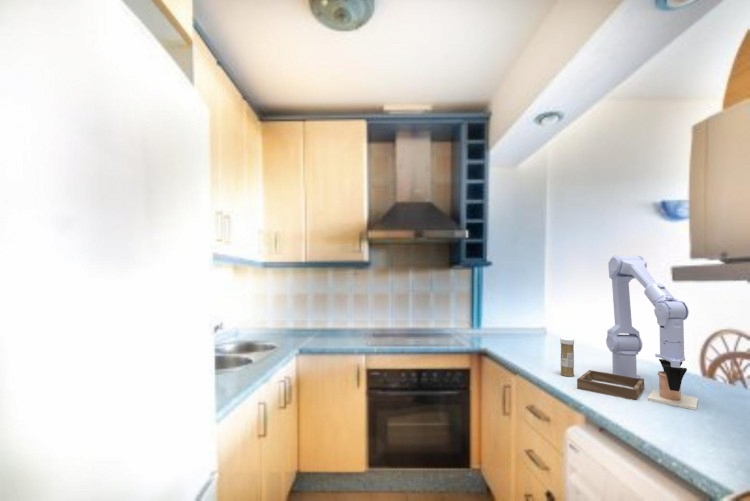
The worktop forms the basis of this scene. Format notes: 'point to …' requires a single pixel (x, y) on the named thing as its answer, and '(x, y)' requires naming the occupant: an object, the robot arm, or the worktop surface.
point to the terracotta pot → (667, 388)
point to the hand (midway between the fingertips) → (672, 387)
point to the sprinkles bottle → (567, 356)
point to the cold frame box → (623, 392)
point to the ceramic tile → (684, 402)
